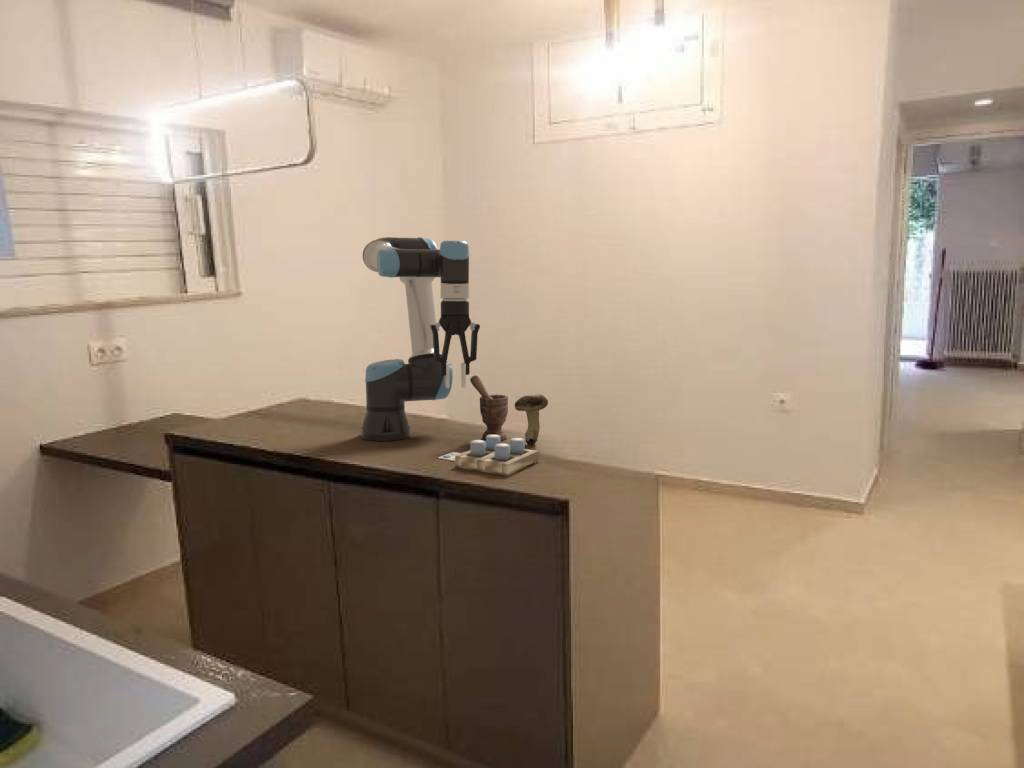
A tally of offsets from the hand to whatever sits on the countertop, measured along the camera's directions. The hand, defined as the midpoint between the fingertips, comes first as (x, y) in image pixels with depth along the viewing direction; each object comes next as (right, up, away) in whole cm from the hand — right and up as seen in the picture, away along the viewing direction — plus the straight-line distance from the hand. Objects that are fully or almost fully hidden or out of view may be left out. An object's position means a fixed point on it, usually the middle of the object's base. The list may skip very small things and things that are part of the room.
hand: (455, 386), depth 193 cm
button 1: (+6, -18, -6) cm, 20 cm away
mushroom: (+21, -17, +18) cm, 33 cm away
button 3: (+13, -19, -9) cm, 24 cm away
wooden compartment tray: (+11, -20, -4) cm, 24 cm away
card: (0, -19, +3) cm, 20 cm away
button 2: (+10, -17, +1) cm, 20 cm away
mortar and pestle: (+9, -16, +24) cm, 31 cm away
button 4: (+17, -18, -3) cm, 24 cm away
